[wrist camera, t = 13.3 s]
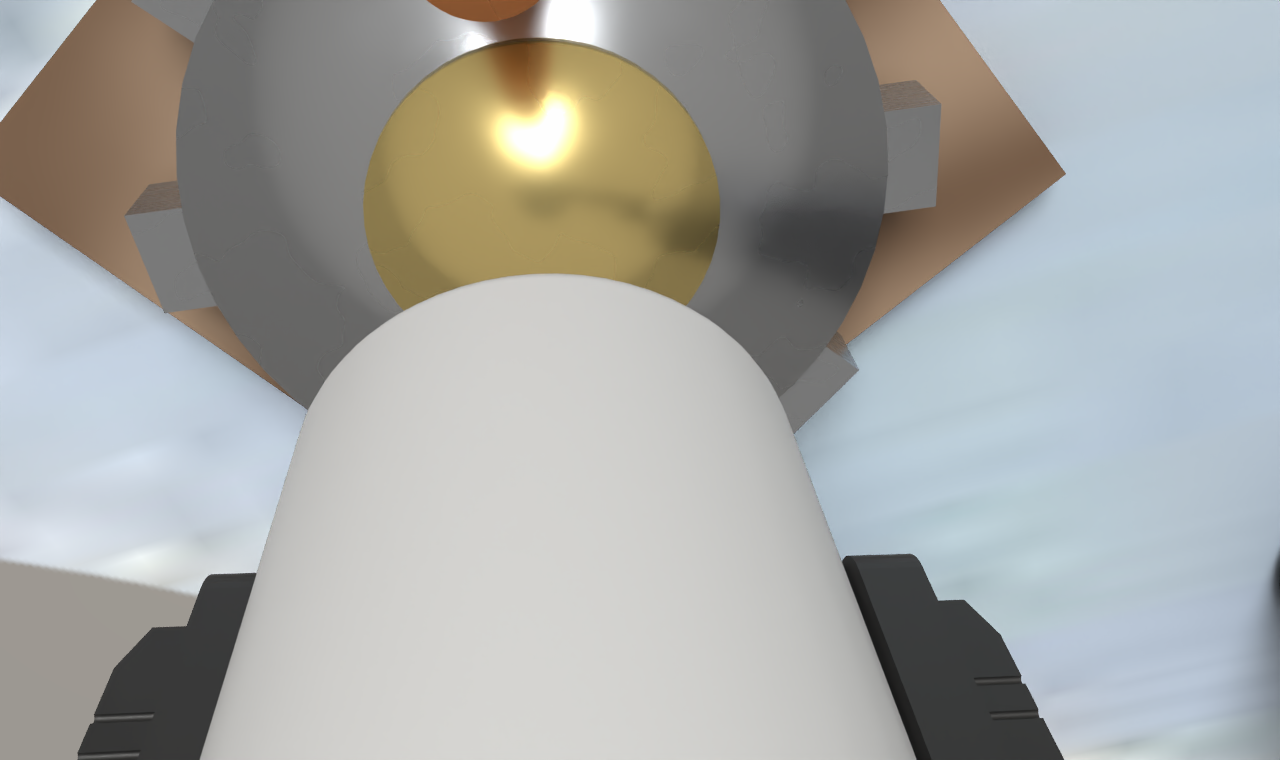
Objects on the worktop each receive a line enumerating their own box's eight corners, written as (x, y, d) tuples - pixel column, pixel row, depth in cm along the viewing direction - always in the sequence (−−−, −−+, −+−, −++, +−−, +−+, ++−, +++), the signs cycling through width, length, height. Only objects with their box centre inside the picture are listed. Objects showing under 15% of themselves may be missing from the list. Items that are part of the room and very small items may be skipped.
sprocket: (928, -319, 18) (1082, -330, 13) (899, 425, 27) (984, 588, 22) (3, -199, 18) (-203, -164, 13) (282, 512, 27) (226, 698, 22)
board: (1044, 155, 25) (1068, 175, 24) (547, 547, 30) (548, 578, 29) (534, -542, 17) (534, -559, 16) (-13, 149, 22) (-40, 172, 21)
